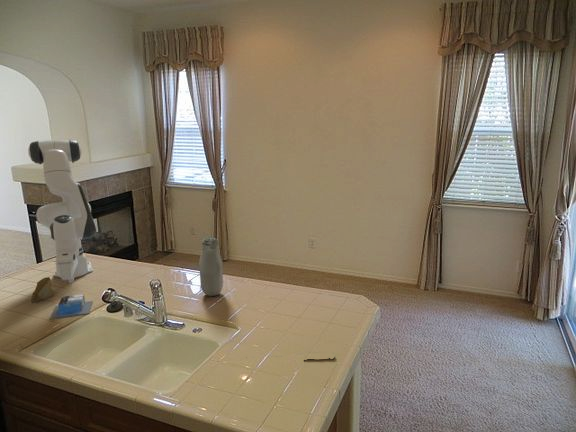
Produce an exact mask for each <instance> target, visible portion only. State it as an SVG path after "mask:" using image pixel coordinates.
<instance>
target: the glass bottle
mask: <svg viewBox="0 0 576 432" xmlns="http://www.w3.org/2000/svg"><path fill="white" fill-rule="evenodd" d="M200 253H201V254H200V257H199V262H198V263H199V265H198V266H199V267H198V268H199V279H200V281H199V283H200V289H201V291H202V292H203V294H204V295H206V296H209V297H214V296H217V295H219V294H220V293H221V292H222V290H223V285H224V275H223V269H224V267H223V260H222V256H221V252H220V247H219V241H218V239H217V238H215V237H214V236H208V237H205V238H203V239H202V241H201V252H200Z"/></svg>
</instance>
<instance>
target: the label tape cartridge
mask: <svg viewBox="0 0 576 432" xmlns="http://www.w3.org/2000/svg"><path fill="white" fill-rule="evenodd" d="M85 302H86V299H85V294H84V293H83V294H74V295H66V296H61V299H60V300H59V303H58V305H57V306H58V308H59V315H58V317H60V316H68V315H75V314H80V313H81V310H82V308H83V305H84V303H85ZM67 313H71V314H67Z"/></svg>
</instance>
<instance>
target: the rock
mask: <svg viewBox="0 0 576 432" xmlns="http://www.w3.org/2000/svg"><path fill="white" fill-rule="evenodd" d="M53 295H54V290H53V287H52V280H51V278H50V276H47V277H43V278H41V279H40V280H39V281H37V282H36V287H35V289H34V291H33V293H32V295H31V300H30V302H31V303H36V302H37V303H38V302H40V301H42V300H45V299H47V298H49V297H51V296H53Z"/></svg>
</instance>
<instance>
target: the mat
mask: <svg viewBox="0 0 576 432" xmlns="http://www.w3.org/2000/svg"><path fill="white" fill-rule="evenodd" d="M93 302H94V301H93V300H91V301H85V303H84V305H83V308H82V310H81V313H80V314H75V315H68V316H60V317H58V315H59V308H58V305H55V306H54V308H53V310H52V312H51V315H50V317H49V320H55V319H63V318H70V317H76V316H78V317H79V316H82V315H90V313H91V309H92V306H93ZM67 314H71V313H67Z"/></svg>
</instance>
